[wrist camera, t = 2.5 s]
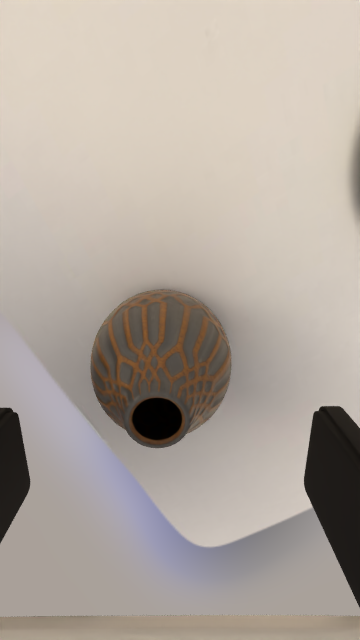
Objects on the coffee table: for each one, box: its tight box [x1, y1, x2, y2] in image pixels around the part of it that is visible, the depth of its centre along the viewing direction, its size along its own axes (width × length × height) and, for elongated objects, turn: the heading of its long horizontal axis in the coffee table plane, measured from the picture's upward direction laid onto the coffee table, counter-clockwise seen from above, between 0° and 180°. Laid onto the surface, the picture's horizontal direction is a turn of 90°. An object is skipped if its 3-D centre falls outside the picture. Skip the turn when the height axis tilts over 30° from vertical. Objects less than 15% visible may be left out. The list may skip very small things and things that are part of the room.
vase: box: [90, 290, 231, 448], centre depth 16 cm, size 7×7×9 cm
